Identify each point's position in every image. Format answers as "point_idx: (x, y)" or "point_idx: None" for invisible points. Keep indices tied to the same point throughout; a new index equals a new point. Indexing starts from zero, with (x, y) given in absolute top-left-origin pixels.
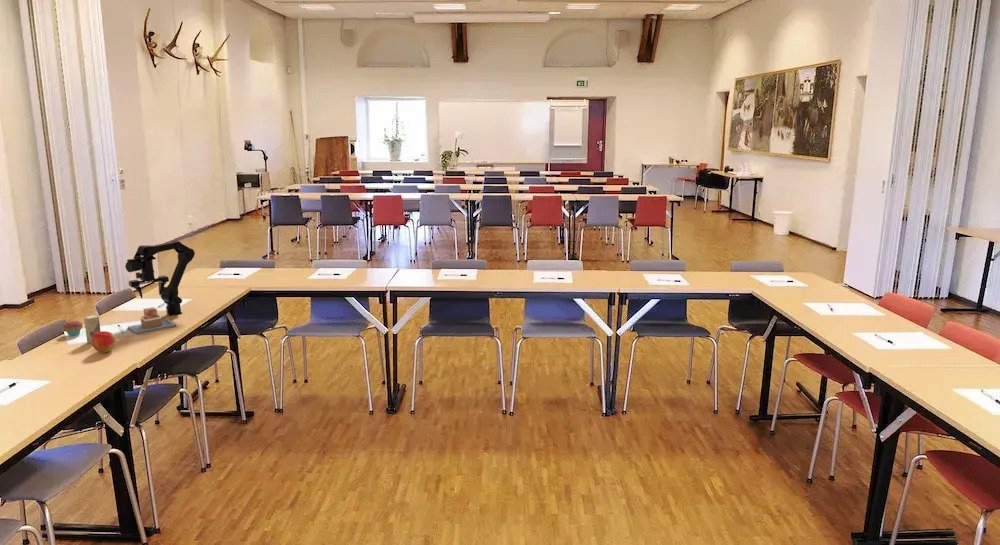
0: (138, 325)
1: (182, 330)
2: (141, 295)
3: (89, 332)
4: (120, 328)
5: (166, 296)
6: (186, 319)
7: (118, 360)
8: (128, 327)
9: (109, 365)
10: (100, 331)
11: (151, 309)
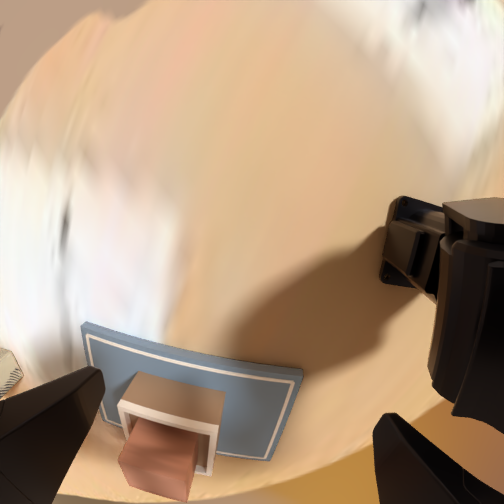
0: (125, 358)
1: (254, 485)
2: (76, 430)
3: None
4: (62, 289)
5: (448, 369)
6: (367, 406)
7: (78, 479)
8: (83, 342)
9: (68, 478)
10: (5, 393)
11: (159, 491)
